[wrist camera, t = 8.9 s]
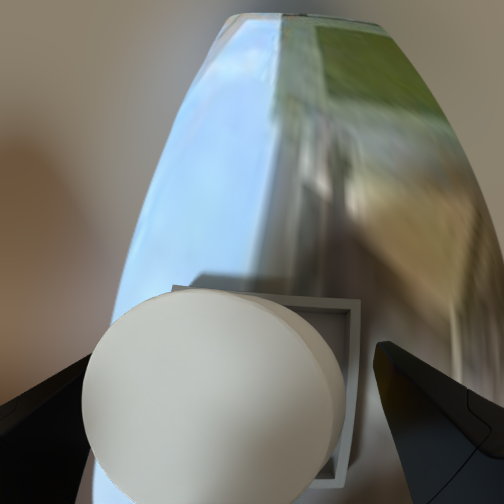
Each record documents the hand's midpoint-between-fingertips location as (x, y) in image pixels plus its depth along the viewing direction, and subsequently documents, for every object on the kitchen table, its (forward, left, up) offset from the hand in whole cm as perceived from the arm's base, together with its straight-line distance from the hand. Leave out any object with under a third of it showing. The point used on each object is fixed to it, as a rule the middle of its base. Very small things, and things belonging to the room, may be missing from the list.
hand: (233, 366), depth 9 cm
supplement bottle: (-1, -1, -9) cm, 9 cm away
